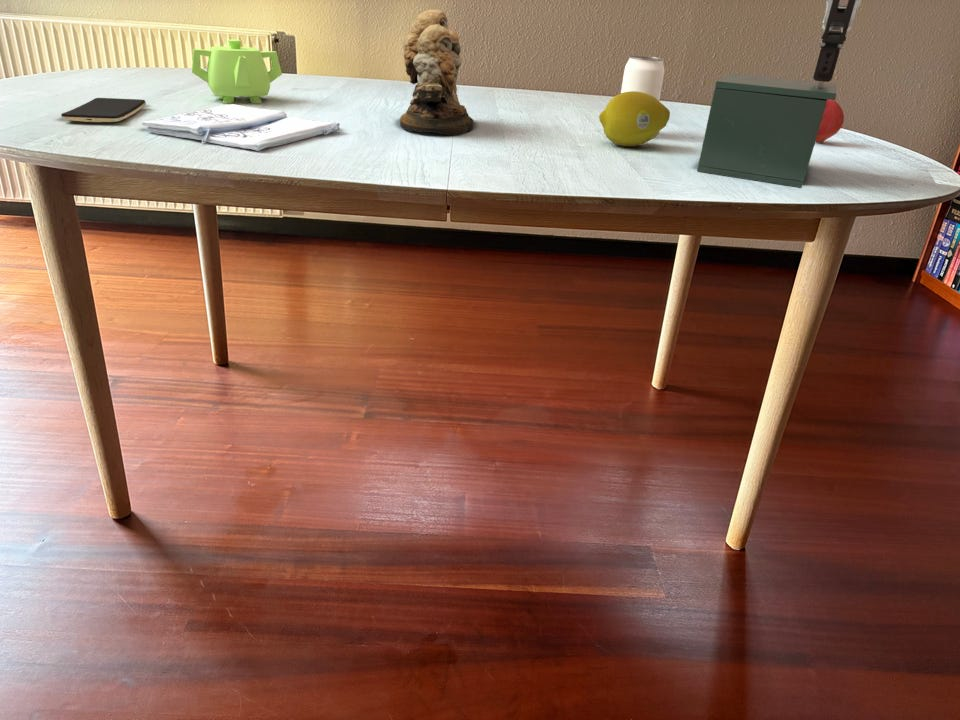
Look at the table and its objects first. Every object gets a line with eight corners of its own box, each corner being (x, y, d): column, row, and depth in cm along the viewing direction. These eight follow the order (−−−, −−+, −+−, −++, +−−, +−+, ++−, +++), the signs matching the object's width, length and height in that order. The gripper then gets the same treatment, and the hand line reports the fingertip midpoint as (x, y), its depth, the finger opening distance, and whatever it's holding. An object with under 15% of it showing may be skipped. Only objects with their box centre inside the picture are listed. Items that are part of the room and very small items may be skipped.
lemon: (597, 148, 104) (605, 92, 100) (593, 138, 111) (600, 85, 107) (668, 154, 103) (679, 98, 100) (659, 143, 110) (669, 91, 106)
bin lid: (834, 89, 95) (846, 47, 92) (834, 100, 84) (848, 52, 81) (728, 79, 100) (736, 38, 97) (714, 87, 89) (724, 42, 86)
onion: (814, 146, 117) (829, 96, 113) (793, 139, 122) (806, 91, 118) (843, 146, 119) (858, 98, 115) (821, 139, 123) (835, 92, 120)
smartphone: (59, 114, 95) (96, 97, 108) (61, 122, 95) (97, 104, 108) (116, 116, 96) (146, 99, 109) (117, 124, 96) (147, 107, 109)
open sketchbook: (238, 115, 109) (236, 101, 108) (344, 132, 102) (343, 117, 101) (140, 132, 93) (137, 116, 92) (256, 154, 87) (255, 137, 86)
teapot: (191, 100, 118) (182, 37, 114) (233, 92, 128) (227, 35, 123) (248, 108, 115) (242, 44, 111) (287, 100, 125) (283, 41, 120)
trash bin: (805, 168, 100) (828, 90, 95) (801, 187, 89) (827, 100, 84) (711, 154, 105) (728, 79, 100) (696, 171, 94) (714, 88, 89)
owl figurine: (470, 140, 103) (476, 13, 95) (392, 134, 103) (392, 8, 95) (475, 120, 119) (481, 10, 111) (407, 115, 119) (408, 5, 111)
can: (608, 130, 118) (619, 54, 112) (640, 130, 120) (653, 56, 114) (626, 137, 113) (639, 59, 107) (660, 137, 115) (674, 60, 109)
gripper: (904, -80, 74) (854, 87, 82) (895, -68, 86) (852, 78, 94) (829, -81, 77) (788, 81, 85) (830, -70, 88) (794, 72, 96)
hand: (822, 78), depth 89 cm, fingers closed on bin lid, 5 cm apart
